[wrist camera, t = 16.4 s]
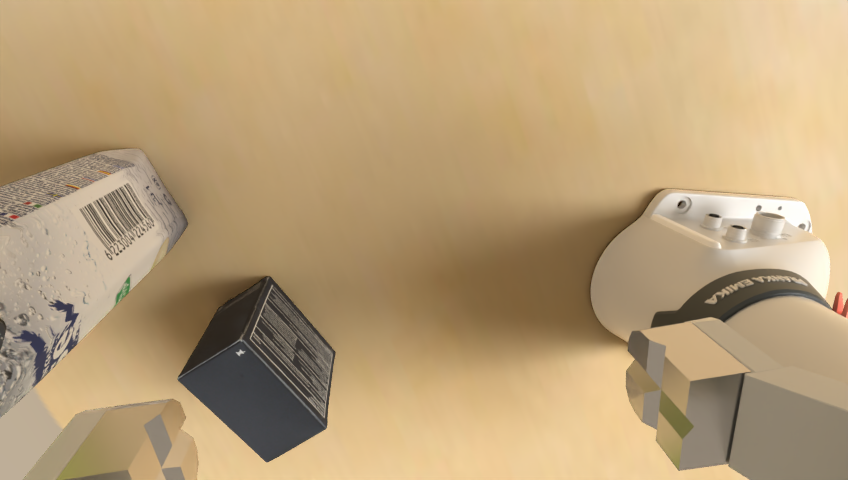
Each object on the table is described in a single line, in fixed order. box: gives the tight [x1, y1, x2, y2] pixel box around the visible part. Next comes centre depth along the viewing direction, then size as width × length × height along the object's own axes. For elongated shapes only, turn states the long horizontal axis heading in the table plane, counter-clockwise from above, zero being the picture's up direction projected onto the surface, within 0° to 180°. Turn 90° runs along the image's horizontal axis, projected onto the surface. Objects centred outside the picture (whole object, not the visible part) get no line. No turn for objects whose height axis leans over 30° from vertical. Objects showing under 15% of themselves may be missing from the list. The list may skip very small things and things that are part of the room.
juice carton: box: [0, 148, 188, 417], centre depth 28 cm, size 9×10×27 cm
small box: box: [178, 277, 335, 462], centre depth 41 cm, size 11×6×10 cm, turn 31°
